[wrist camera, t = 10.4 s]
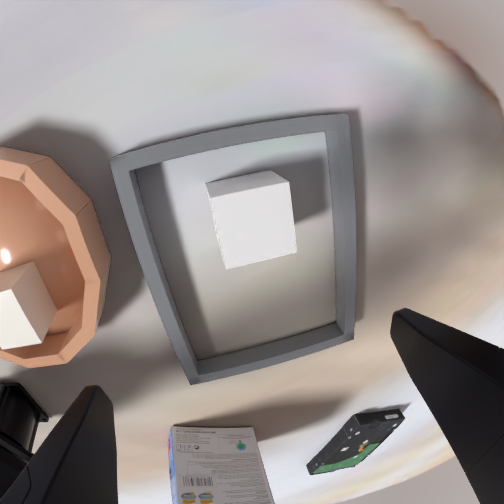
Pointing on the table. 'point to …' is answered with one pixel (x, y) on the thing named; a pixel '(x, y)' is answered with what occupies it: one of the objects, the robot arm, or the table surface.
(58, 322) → the bowl
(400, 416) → the disk drive
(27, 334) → the white matte cube
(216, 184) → the pale grey cubic block
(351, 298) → the parts tray
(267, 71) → the table surface
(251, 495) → the ink cartridge box
